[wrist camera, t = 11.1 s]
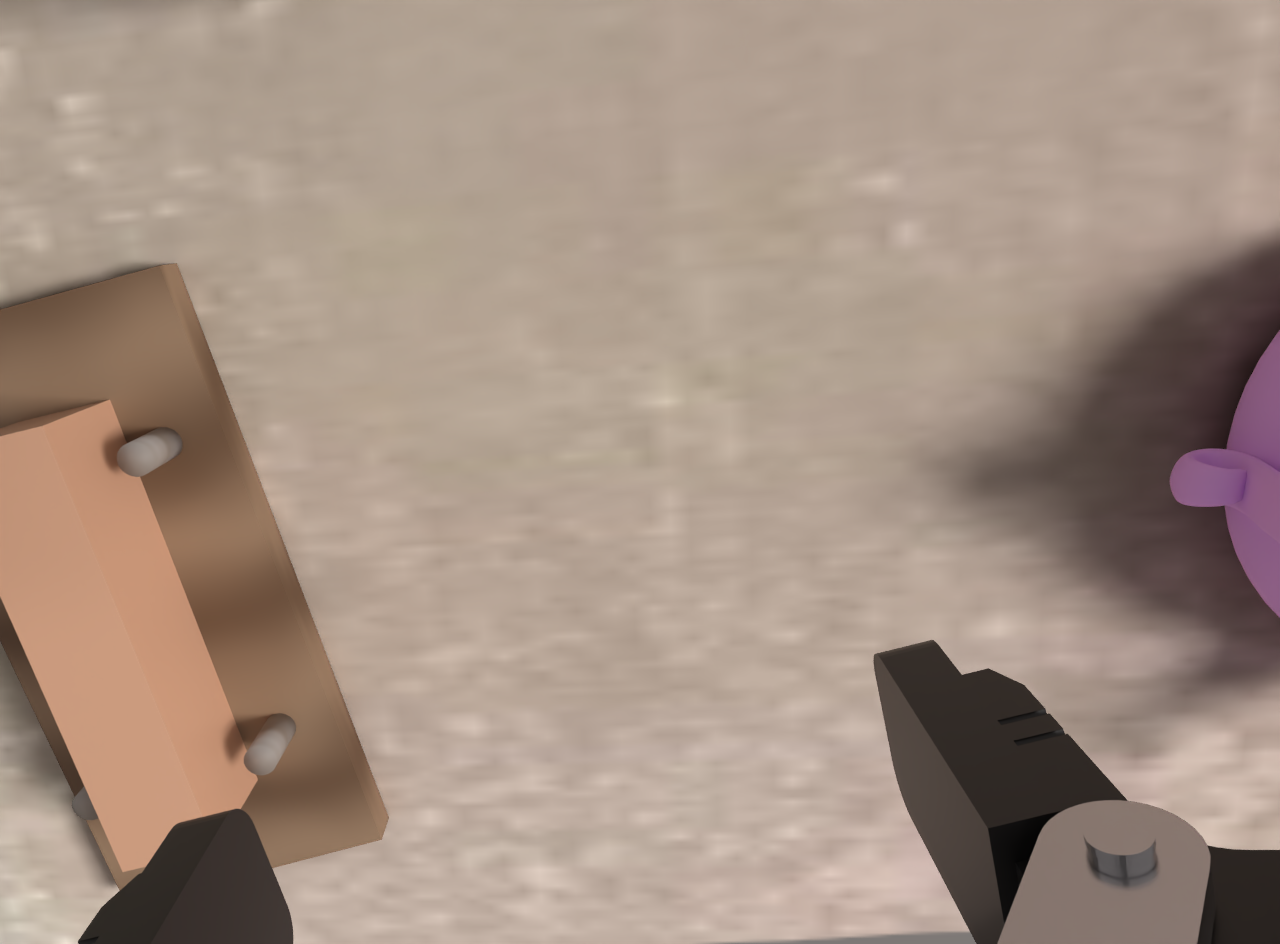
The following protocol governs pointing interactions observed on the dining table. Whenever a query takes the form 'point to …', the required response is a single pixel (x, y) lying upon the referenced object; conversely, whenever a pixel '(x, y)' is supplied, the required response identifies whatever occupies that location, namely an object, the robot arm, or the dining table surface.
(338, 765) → the rack
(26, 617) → the clay strip
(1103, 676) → the dining table surface
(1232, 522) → the teapot
